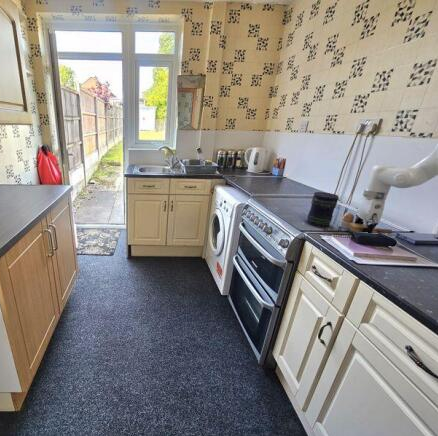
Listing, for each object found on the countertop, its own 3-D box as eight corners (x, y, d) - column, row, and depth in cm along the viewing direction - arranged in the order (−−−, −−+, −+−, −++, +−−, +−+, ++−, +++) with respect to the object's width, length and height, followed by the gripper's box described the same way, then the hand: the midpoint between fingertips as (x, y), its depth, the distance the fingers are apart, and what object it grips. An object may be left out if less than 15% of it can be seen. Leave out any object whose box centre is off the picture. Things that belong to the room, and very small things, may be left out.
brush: (387, 235, 110) (390, 227, 109) (393, 239, 106) (396, 231, 104) (346, 230, 114) (348, 222, 113) (350, 234, 110) (353, 226, 109)
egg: (349, 225, 121) (354, 211, 118) (354, 229, 116) (359, 215, 113) (336, 223, 122) (340, 210, 120) (340, 227, 117) (345, 214, 115)
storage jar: (302, 219, 126) (309, 191, 121) (322, 220, 126) (331, 192, 120) (312, 227, 117) (321, 197, 112) (334, 228, 116) (344, 198, 111)
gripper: (398, 201, 95) (381, 242, 102) (374, 190, 111) (361, 226, 117) (374, 199, 98) (359, 239, 104) (355, 189, 113) (343, 224, 119)
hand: (361, 232), depth 111 cm, fingers open, 7 cm apart
